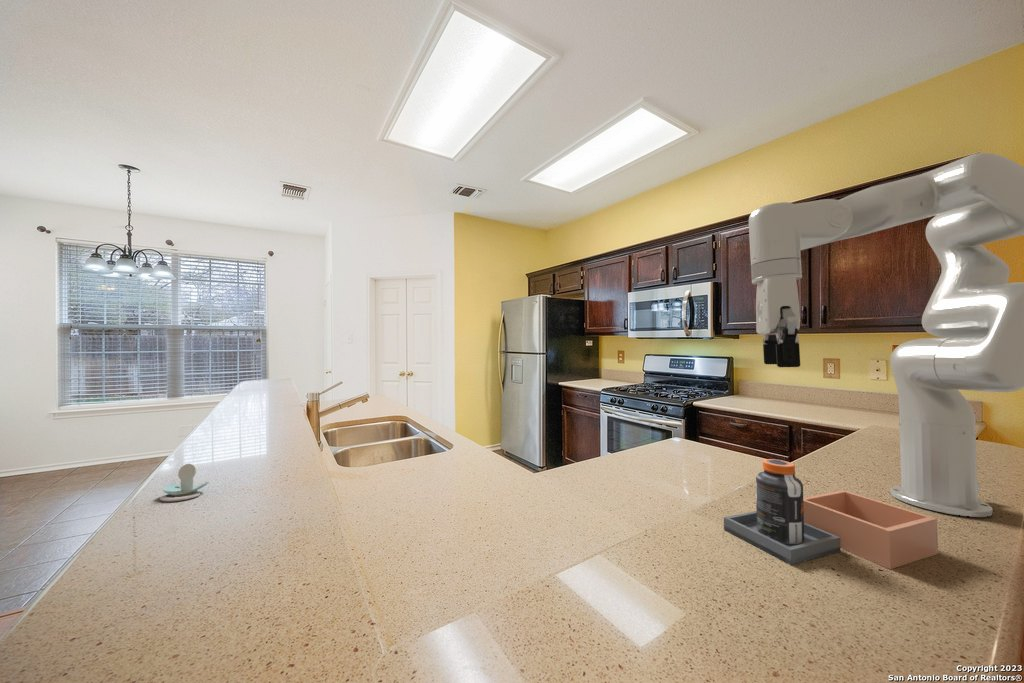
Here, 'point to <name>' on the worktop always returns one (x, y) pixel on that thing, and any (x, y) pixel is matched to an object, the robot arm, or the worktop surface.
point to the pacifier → (183, 485)
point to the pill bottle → (780, 502)
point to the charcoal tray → (810, 548)
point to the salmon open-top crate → (873, 527)
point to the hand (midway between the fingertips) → (780, 365)
